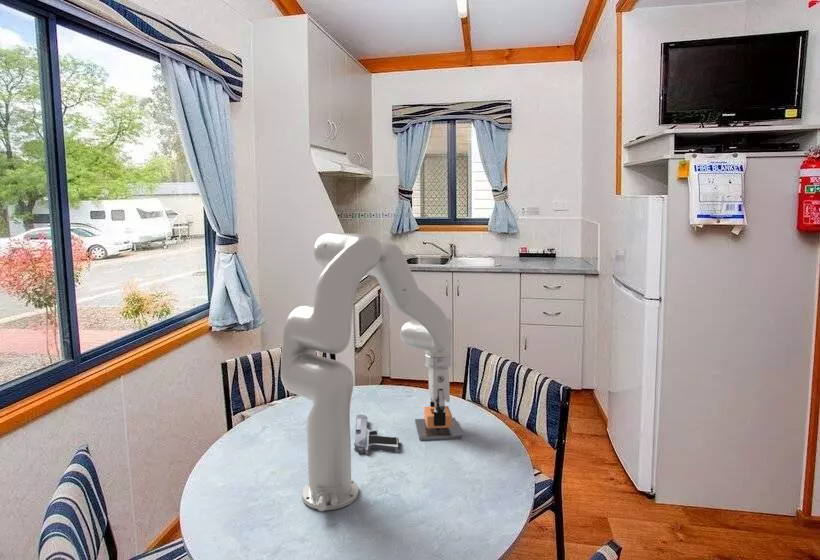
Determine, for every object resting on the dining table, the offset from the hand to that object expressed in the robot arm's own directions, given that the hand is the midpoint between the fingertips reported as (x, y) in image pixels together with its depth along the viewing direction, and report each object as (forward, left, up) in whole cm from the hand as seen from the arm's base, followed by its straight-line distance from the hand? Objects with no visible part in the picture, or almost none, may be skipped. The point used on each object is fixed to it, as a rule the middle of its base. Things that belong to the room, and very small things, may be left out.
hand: (437, 419), depth 152 cm
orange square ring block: (0, 0, -1) cm, 1 cm away
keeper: (0, 0, -3) cm, 3 cm away
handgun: (-2, +18, -4) cm, 18 cm away
